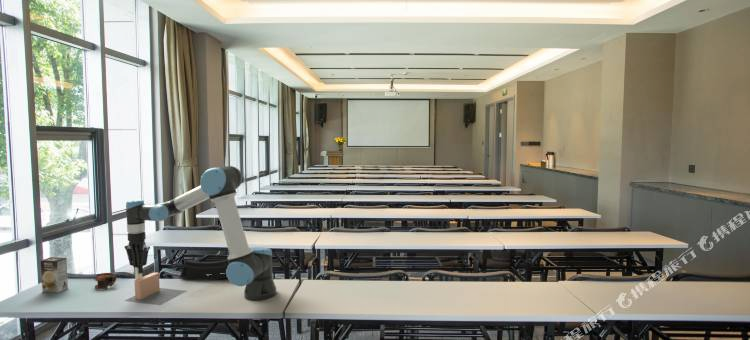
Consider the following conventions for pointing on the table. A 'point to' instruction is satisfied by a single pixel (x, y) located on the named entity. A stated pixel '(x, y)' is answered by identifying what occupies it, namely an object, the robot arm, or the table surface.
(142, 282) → the board
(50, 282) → the coffee box
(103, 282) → the pottery mug
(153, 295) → the mat
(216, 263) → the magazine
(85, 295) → the table surface
